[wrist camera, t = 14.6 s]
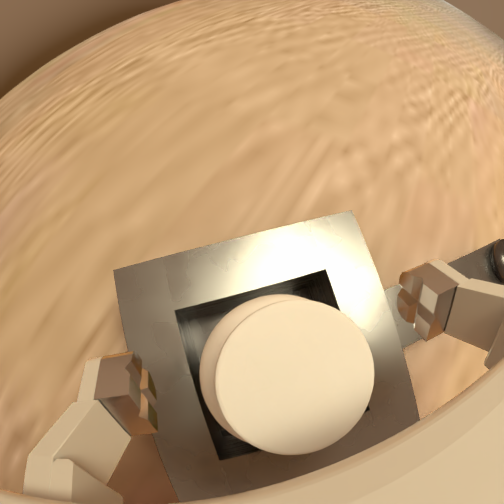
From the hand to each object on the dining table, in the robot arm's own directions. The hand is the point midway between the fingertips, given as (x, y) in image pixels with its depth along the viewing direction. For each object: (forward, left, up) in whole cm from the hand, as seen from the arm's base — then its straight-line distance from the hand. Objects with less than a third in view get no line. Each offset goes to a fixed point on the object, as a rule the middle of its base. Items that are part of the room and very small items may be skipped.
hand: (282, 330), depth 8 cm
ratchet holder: (+7, -1, -9) cm, 12 cm away
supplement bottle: (0, -1, -9) cm, 9 cm away
